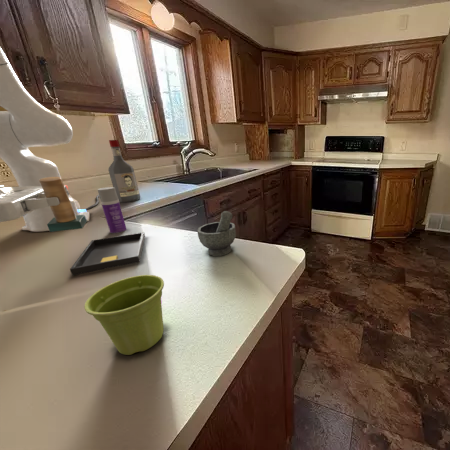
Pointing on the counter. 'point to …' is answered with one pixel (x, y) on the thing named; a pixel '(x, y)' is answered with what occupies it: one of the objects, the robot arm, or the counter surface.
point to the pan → (110, 253)
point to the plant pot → (130, 312)
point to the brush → (61, 206)
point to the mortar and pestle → (218, 235)
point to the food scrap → (109, 258)
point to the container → (112, 209)
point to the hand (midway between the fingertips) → (63, 198)
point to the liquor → (122, 176)
